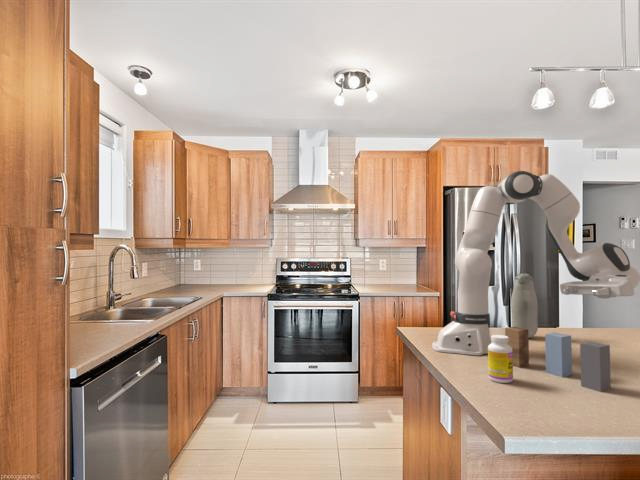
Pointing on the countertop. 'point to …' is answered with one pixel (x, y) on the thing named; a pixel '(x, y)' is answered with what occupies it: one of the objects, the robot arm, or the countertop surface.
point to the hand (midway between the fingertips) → (579, 292)
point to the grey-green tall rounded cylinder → (524, 304)
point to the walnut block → (519, 345)
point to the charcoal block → (595, 366)
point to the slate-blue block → (558, 354)
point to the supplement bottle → (500, 359)
